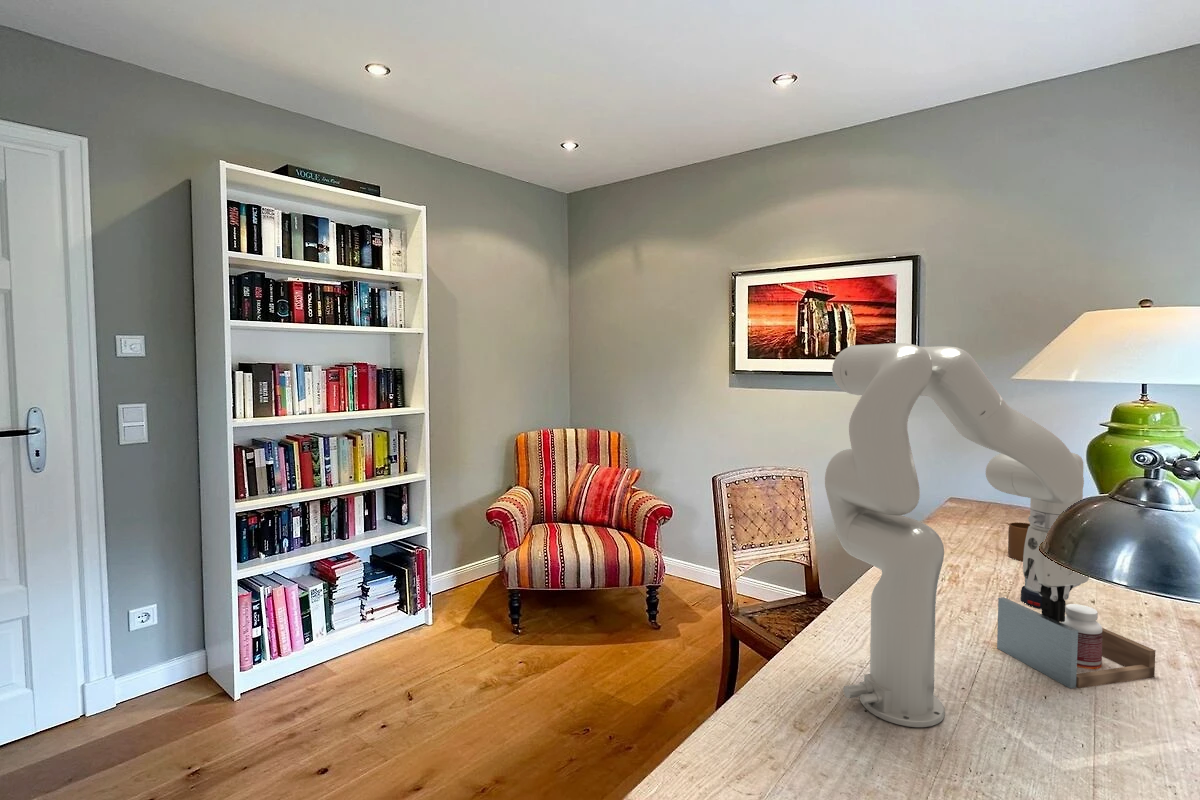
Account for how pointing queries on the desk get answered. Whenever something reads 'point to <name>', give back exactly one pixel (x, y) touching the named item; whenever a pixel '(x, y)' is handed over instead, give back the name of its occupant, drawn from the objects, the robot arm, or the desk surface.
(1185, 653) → the desk surface
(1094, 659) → the pill bottle
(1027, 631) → the metal panel
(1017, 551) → the mug
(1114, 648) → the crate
